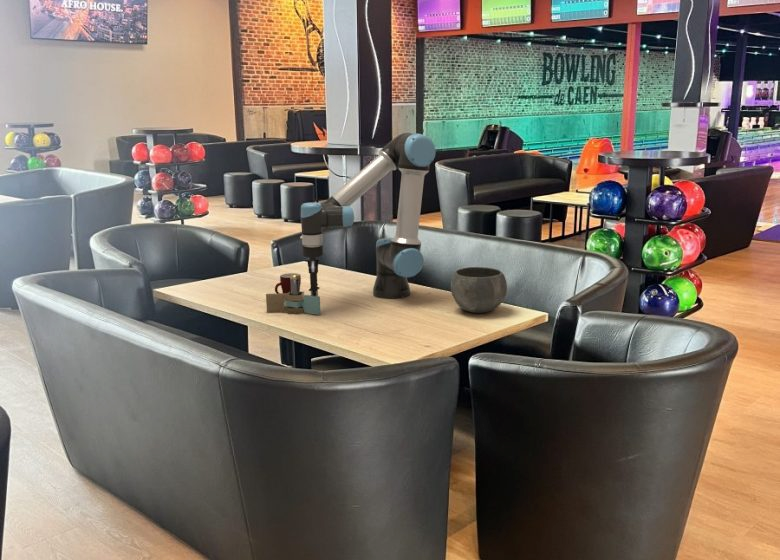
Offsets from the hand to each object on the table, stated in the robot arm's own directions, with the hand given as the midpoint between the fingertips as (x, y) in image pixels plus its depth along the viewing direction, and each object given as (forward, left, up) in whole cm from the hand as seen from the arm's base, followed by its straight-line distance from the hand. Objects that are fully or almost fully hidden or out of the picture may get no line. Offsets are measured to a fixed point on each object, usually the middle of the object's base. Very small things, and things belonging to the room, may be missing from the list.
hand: (314, 306), depth 290 cm
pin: (+7, -1, -2) cm, 8 cm away
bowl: (-61, +3, -2) cm, 61 cm away
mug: (+12, -18, -2) cm, 22 cm away
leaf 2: (+4, +1, -2) cm, 4 cm away
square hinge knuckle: (+11, -1, -2) cm, 11 cm away
